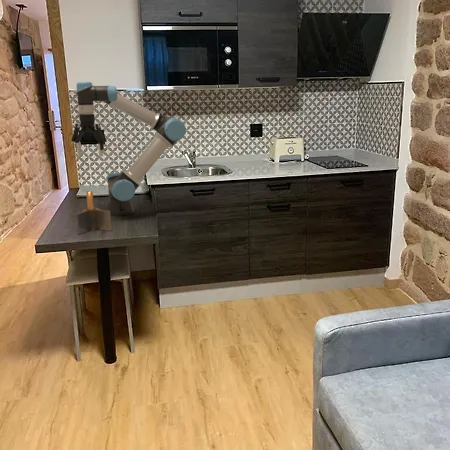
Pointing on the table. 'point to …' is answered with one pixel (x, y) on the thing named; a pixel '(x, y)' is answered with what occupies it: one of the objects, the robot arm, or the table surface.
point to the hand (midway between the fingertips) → (90, 155)
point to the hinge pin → (90, 200)
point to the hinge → (93, 220)
